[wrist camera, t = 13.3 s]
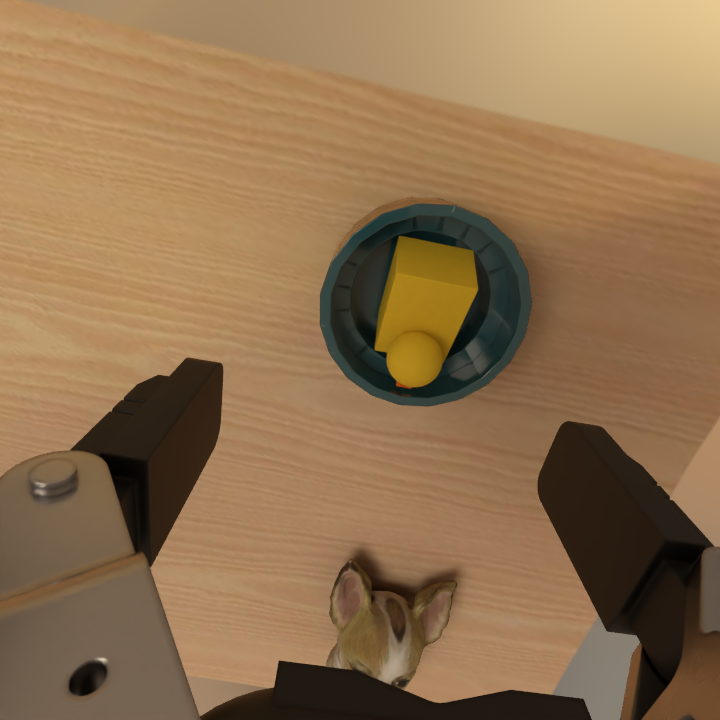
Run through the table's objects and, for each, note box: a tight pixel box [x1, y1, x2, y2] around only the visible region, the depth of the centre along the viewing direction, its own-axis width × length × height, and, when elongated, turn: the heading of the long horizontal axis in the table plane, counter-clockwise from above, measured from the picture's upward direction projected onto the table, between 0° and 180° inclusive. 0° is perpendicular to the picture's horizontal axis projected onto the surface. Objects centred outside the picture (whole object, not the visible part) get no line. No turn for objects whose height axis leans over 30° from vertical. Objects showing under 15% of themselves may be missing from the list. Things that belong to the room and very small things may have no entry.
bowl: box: [320, 197, 532, 406], centre depth 27 cm, size 12×12×6 cm
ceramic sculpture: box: [326, 559, 457, 690], centre depth 38 cm, size 11×9×15 cm
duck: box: [375, 236, 478, 389], centre depth 26 cm, size 7×4×7 cm, turn 169°
